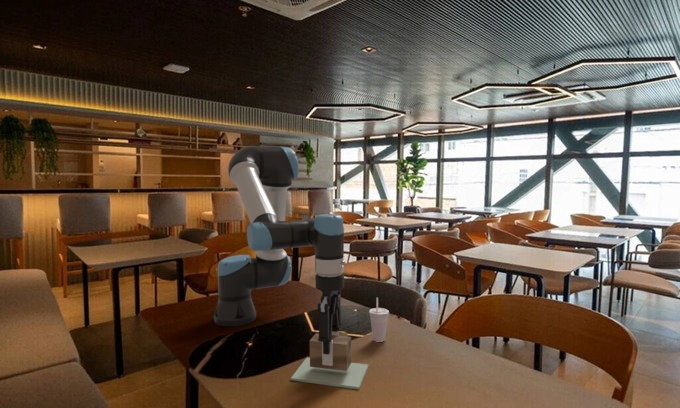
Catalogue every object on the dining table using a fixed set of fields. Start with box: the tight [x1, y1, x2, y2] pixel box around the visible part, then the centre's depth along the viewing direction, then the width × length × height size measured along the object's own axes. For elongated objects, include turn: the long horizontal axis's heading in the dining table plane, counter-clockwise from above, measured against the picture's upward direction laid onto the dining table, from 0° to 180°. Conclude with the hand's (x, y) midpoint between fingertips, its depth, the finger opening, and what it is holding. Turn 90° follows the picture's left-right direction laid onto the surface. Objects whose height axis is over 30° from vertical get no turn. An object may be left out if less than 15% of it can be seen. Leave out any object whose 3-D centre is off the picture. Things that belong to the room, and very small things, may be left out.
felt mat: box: [290, 356, 369, 390], centre depth 103 cm, size 18×12×1 cm, turn 75°
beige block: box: [309, 333, 352, 371], centre depth 103 cm, size 5×10×7 cm, turn 75°
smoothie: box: [368, 297, 390, 343], centre depth 124 cm, size 6×6×14 cm
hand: (330, 359), depth 103 cm, fingers closed on beige block, 5 cm apart
